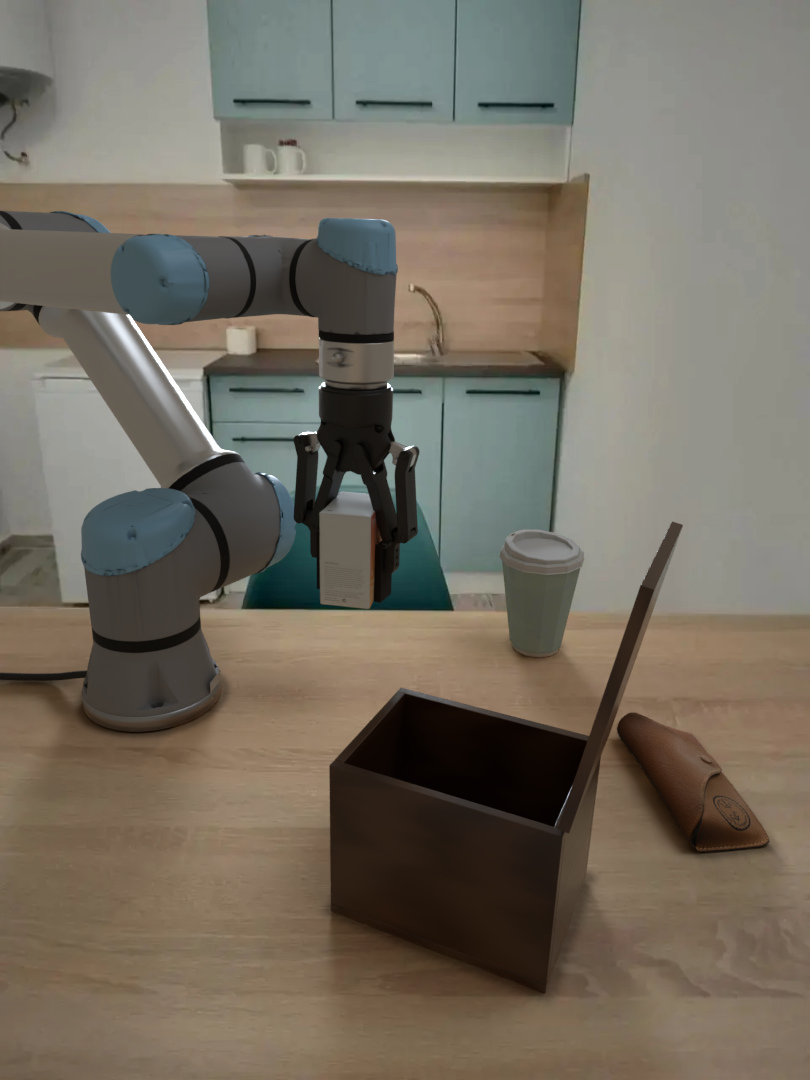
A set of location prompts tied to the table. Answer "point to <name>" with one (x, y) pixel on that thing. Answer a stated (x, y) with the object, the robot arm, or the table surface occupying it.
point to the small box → (348, 551)
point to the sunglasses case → (692, 786)
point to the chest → (461, 833)
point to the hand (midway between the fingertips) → (353, 590)
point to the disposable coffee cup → (539, 588)
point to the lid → (620, 673)
